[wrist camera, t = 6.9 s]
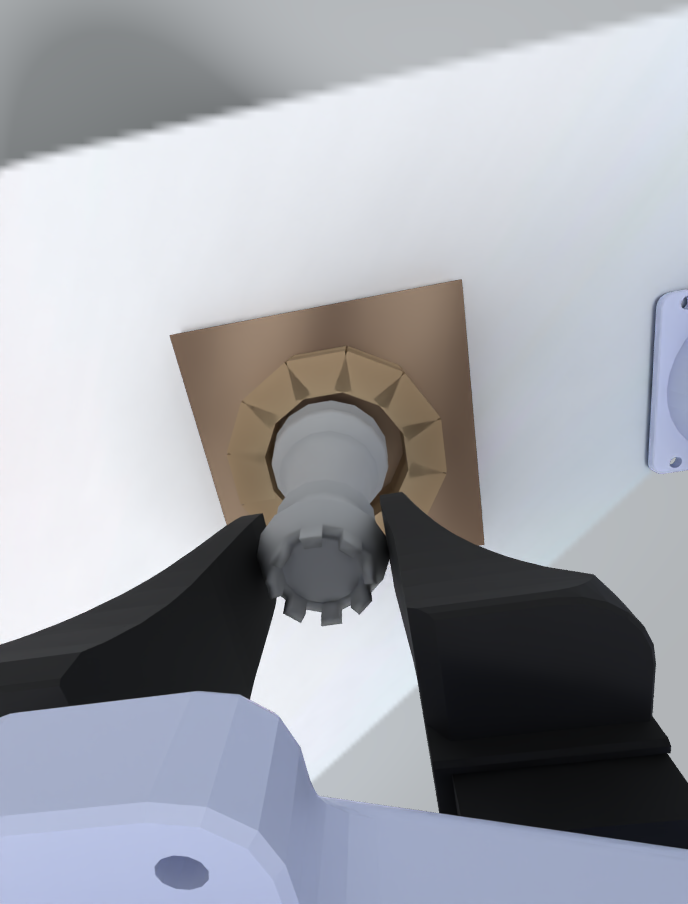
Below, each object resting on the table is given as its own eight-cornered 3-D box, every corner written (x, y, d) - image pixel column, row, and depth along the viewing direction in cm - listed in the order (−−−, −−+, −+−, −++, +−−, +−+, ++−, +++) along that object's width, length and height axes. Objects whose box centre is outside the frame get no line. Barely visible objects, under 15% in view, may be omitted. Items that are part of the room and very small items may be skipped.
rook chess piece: (383, 502, 18) (412, 658, 11) (277, 499, 18) (230, 655, 10) (390, 398, 16) (429, 496, 9) (272, 395, 16) (213, 492, 9)
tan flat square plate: (455, 280, 18) (475, 275, 15) (477, 531, 22) (497, 569, 19) (180, 333, 19) (147, 339, 16) (248, 564, 23) (231, 605, 20)
